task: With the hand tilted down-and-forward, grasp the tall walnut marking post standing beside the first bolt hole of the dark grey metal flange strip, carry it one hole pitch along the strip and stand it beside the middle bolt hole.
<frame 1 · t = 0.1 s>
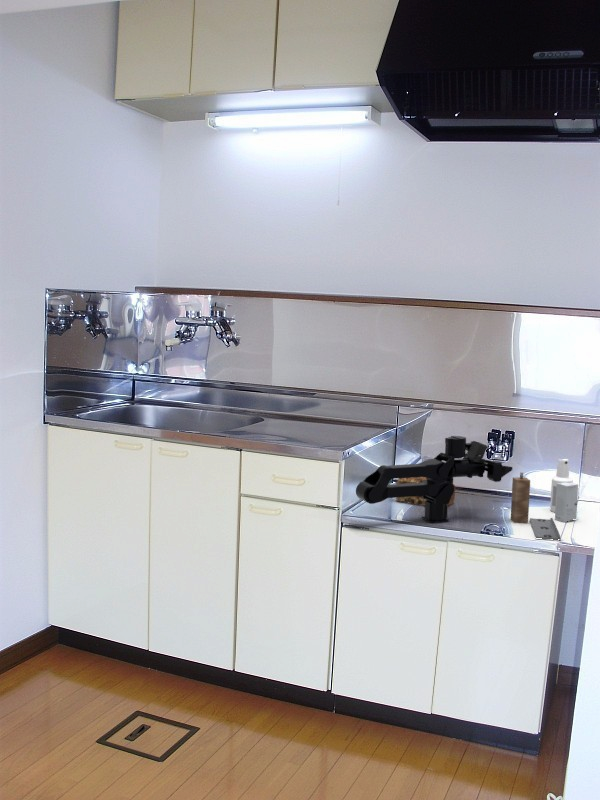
hand: (503, 465, 276), 17 cm above the counter, tool horizontal, fingers open, 9 cm apart
marking post: (519, 521, 269), on the counter
skincare box: (565, 520, 273), on the counter
flange strip: (544, 530, 259), on the counter
spray bottle: (560, 511, 284), on the counter
bread: (425, 503, 292), on the counter
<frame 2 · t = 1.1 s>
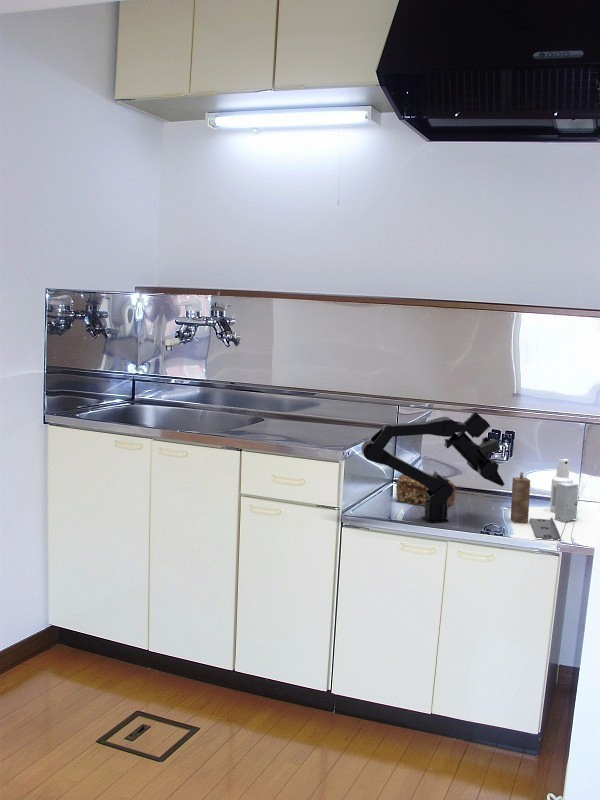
hand: (499, 482, 268), 13 cm above the counter, tool tilted 45°, fingers open, 9 cm apart
nothing on the counter moved.
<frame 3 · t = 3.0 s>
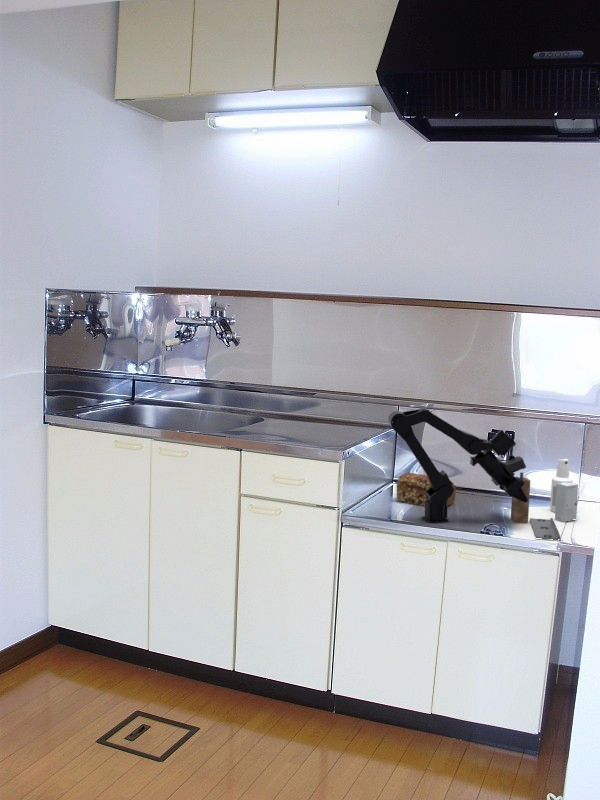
hand: (524, 499, 269), 7 cm above the counter, tool tilted 45°, fingers closed on marking post, 4 cm apart
marking post: (519, 521, 269), on the counter, touching gripper
everything else where it was.
when the fingers open (8 cm above the counter, at t = 5.8 s): marking post stays where it is, on the counter.
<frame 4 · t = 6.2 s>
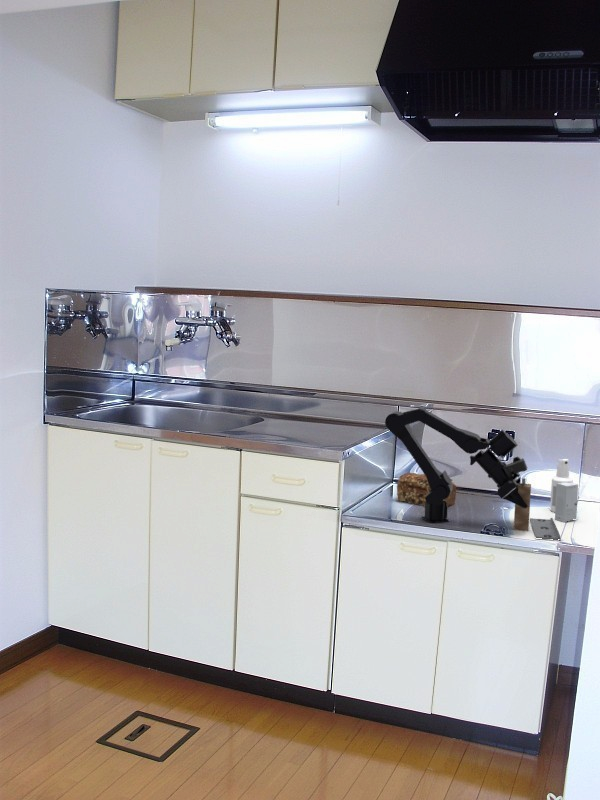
hand: (527, 504, 259), 8 cm above the counter, tool tilted 45°, fingers open, 9 cm apart
marking post: (521, 528, 260), on the counter
everything else where it was.
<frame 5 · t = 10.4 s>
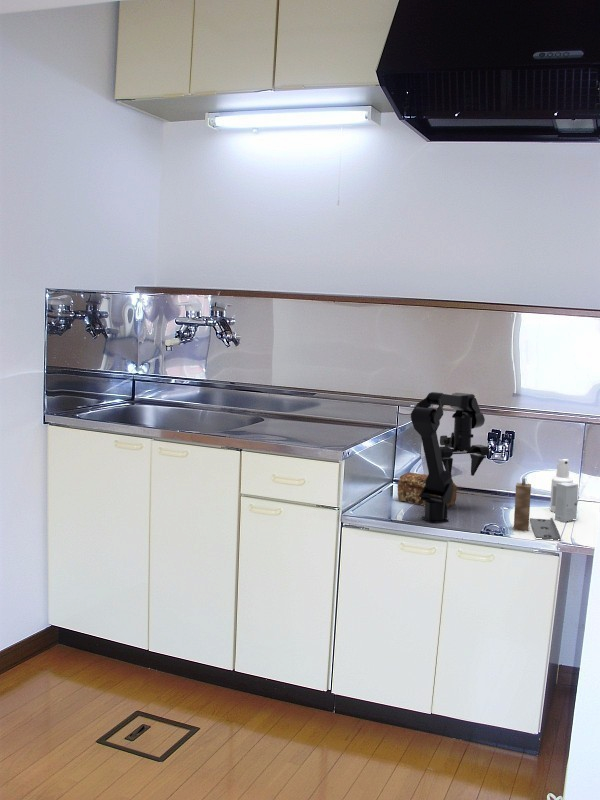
hand: (460, 476, 279), 12 cm above the counter, tool pointing down, fingers open, 9 cm apart
nothing on the counter moved.
at the end: marking post 0.0 cm from the target spot, on the counter; marking post tilted 0°; the gripper is holding nothing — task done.
